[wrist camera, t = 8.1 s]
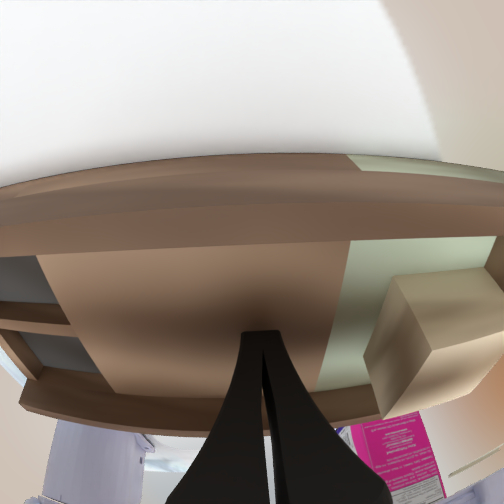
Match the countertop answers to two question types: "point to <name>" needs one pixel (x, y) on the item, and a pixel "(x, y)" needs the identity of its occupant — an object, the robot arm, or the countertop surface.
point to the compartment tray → (223, 276)
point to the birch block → (434, 339)
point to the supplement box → (398, 457)
